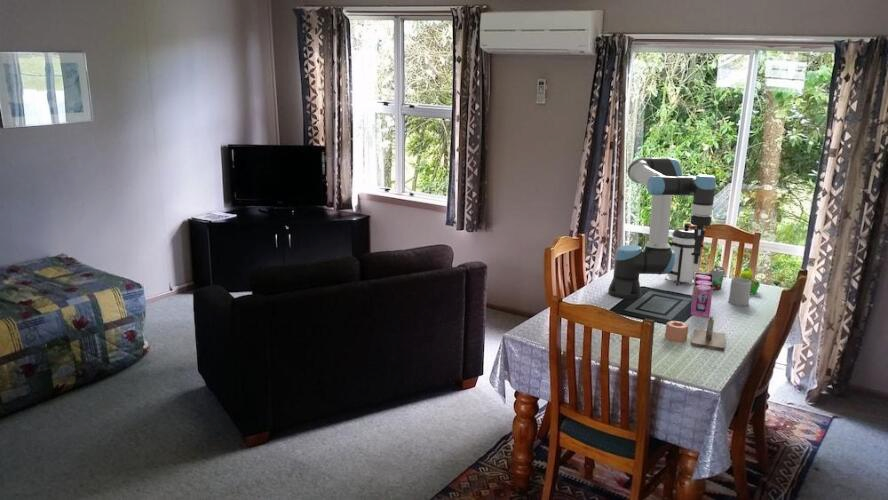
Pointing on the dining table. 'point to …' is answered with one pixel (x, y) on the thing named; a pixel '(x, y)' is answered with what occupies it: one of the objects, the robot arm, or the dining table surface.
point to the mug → (740, 291)
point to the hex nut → (676, 331)
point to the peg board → (708, 342)
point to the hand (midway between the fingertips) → (695, 267)
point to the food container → (717, 277)
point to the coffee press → (682, 255)
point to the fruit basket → (748, 275)
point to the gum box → (702, 295)
